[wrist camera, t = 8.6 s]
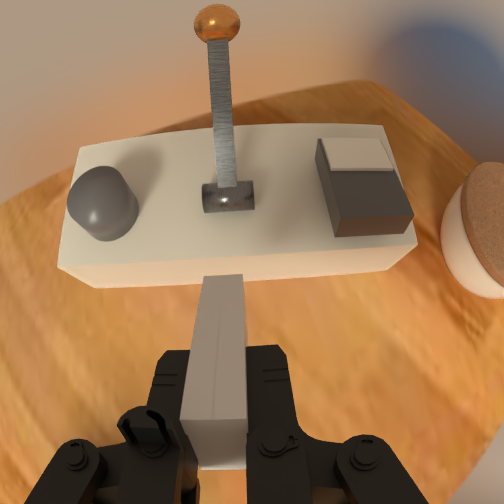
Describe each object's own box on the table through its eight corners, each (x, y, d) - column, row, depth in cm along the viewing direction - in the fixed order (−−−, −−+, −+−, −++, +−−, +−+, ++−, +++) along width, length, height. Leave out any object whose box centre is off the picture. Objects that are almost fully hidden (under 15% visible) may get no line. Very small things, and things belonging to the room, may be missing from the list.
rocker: (334, 237, 18) (341, 214, 16) (314, 159, 21) (317, 135, 19) (403, 233, 18) (415, 212, 16) (374, 159, 21) (381, 137, 19)
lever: (203, 220, 18) (186, 1, 13) (207, 206, 21) (192, 13, 15) (255, 216, 18) (242, -4, 13) (253, 202, 21) (242, 9, 15)
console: (95, 288, 25) (57, 267, 19) (107, 182, 28) (80, 145, 22) (386, 270, 25) (418, 244, 19) (362, 164, 28) (381, 123, 23)
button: (82, 243, 19) (62, 227, 17) (90, 191, 21) (73, 170, 18) (136, 239, 19) (120, 220, 17) (141, 184, 21) (128, 161, 18)
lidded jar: (428, 186, 28) (474, 127, 19) (506, 226, 26) (561, 185, 17) (411, 290, 24) (476, 252, 15) (500, 324, 23) (570, 302, 14)
